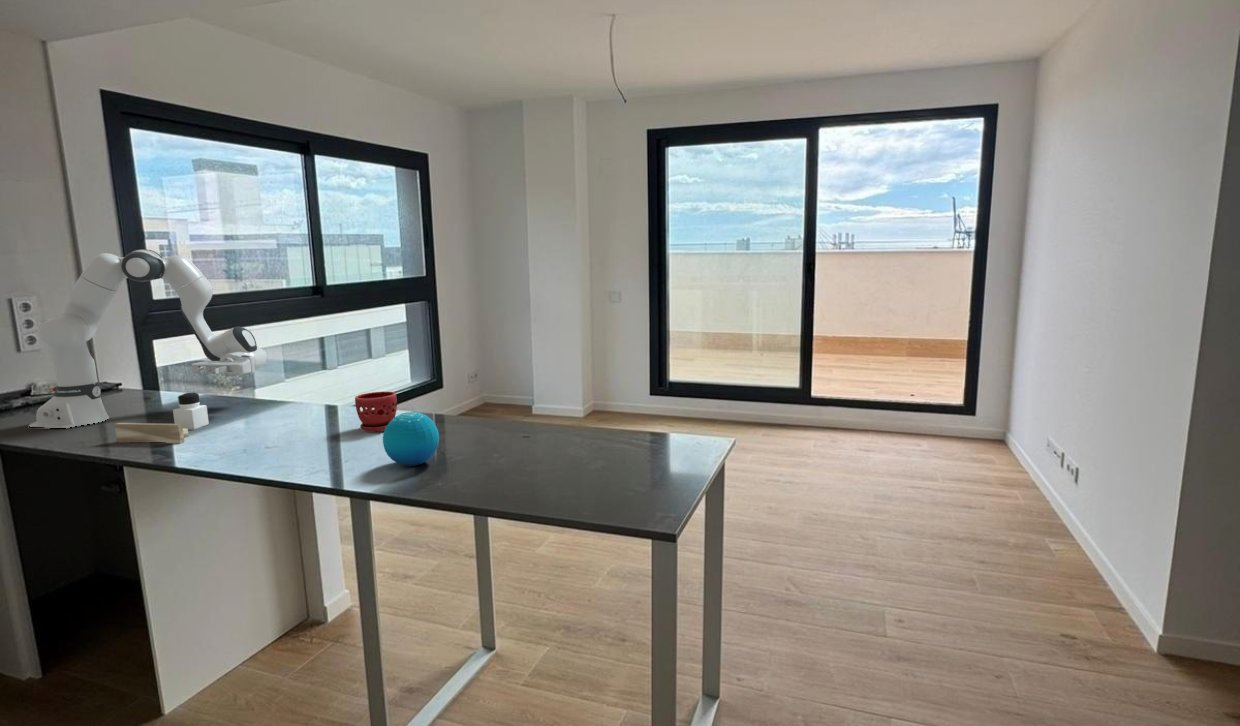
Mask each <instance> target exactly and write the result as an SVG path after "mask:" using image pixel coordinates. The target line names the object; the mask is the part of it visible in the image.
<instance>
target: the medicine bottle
mask: <svg viewBox="0 0 1240 726" xmlns="http://www.w3.org/2000/svg"><path fill="white" fill-rule="evenodd" d="M177 401H178V403H177V404H178V408H174V409H172V414H173V420H174V421H173V422H174V423H173V424H182V428H184V429H188V431H195V430H197V429H200V428H203V427H207V426H208V425H210V422H209V416H208V414H209V413H208V406H207V405H206V404H200V401H201V400H200V395H199V393H197V392H184V393H181V394H179V395H178V396H177Z"/></svg>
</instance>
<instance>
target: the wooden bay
mask: <svg viewBox="0 0 1240 726" xmlns="http://www.w3.org/2000/svg"><path fill="white" fill-rule="evenodd" d="M113 425H114V431H115V436H116V437H115V438H116V443H130V442H166V443H165V444H183V443H185V438H187V437H189V436H190V435H189V430H188V429H184V428H182V424H175V423H155V422H154V423H149V422H147V423H145V422H144V423H143V422H139V423H138V422H117V423H114V424H113Z"/></svg>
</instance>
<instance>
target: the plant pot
mask: <svg viewBox="0 0 1240 726" xmlns="http://www.w3.org/2000/svg"><path fill="white" fill-rule="evenodd" d="M397 398H398V397H397V393H396V392H395V391H373V392H367V393H362V394H358V395H356V396H354V405H355V410H356V412H357V417H358V419H359V421H360V422H361V424H360V425H359V426H360V429H361V430H362V431H365V432H368V433H369V432H370V433H377V432H384V430H385V428H386V426H387V425H388V423H389V422H390V421H391V420H392V419H393V418H395V417H396V416H397V410H398V401H397ZM361 409H362V410H361Z"/></svg>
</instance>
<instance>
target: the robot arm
mask: <svg viewBox="0 0 1240 726" xmlns="http://www.w3.org/2000/svg"><path fill="white" fill-rule="evenodd" d="M126 279H129V280H132V281H135V282H140V283H145V282H149V281H155V280H159V279H160V280H161V279H163V280H164V281H165V282H167V283H168V285H169V286H171V288H172V289H173V291H174V292H175V293H176V295H177V297H178V298H179V300H180V304H181V305H180V312H181V314H182V315H183V317H184V319H185V322H186V323H187V325H188V327H190V330H191V331H192V332H193V334H194V336H195V337H196V339H197V341H198V343H199V344H200V346H201V349H202V351H203V354H204V355H205V357H206V358H207V359H208V360H207V361H199V362H194V363H192V364H191V368H190V369H191V373H192V374H212V375H213V374H214V375H216V374H220V375H221V374H223V375H225V376H227V377H231V378H234V377H239V376H242V375H251V374H254V373H256V372H255V371H257V370H260V369H261V368H263V367H264V366H265V365H266V363H267V360H268V355H267V353H266V351H265V350H264V349H263V348H261V347H259V346H258V344H257V341H256V338H255V336H254V335H253V333H252V332H251V331H250V330H248V329H247V328H245V327H243V326H238V325H237V326H234V327H231V328H230V329H228V330H226V331H224V332H223V333H221V334H219V335H214V333H213V331H212V330H211V328H210V326H209V325H208V324H207V322H206V320H205V318H204V310H205V309H206V306H208V304H209V303H210V302H211V300H212V298H213V295H214V292H213V290H214V289H213V286H212V284H211V283H210V281H209V280H208V279H207V278H206V276H205V275H204V274H203V272H201V270H200V269H199V268H198V267H197V266H196V265H195V264H194V263H193V262H192V261H191V260H190V259H189V258H187V256H185V255H182V254H174V255H170V256H168V257H165V258H163V256H162V255H160V253H159V252H156V251H154V250H151V249H147V248H146V249H137V250H136V249H135V250H133V251H131V252H129V253H127V254H126V255H125V256H123V257H121V256H118V255H116V254H114V253H108V252H107V253H106V252H105V253H104V252H103V253H100V254H97V255H95V257H94V258H93V259H91V261H90V262H89V263H88V264H87V266H86V267H85V268H84V269H83V271H82V273H81V274H80V275H79V277H78V279H77V280H76V282H75V284H74V285H73V287H72V288H71V290H70V291H69V293H68V295H67V296H68V299H67V302H66V305H65V307H64V309H63V311H62V312H61V314H60V315H56V316H52V317H50V318H48V319H46V321H44V322H43V323H42V324H41V325H40V327H39V330H38V334H39V338H40V340H41V341H42V342H43V343H44V344H45V346H46V349H47V351H48V354H49V356H50V358H51V360H52V363H53V367H54V374H55V378H56V384H57V385H56V386H55V387H51V388H49V390H50V391H49V392H50V393H52V392H54V393H53V396H52V397H51V398H50V399H48V400H47V401H46V402H45V403H44V404H43V405H41V406H40V407H39V408H38V409H37V411H36V417H35V418H36V421H34V422H32V423H29V425H28V427H29V426H30V427H45V428H44V429H50V428H66V429H70V427H72V428H76V427H75V426H77V427H82V426H81V425H84V426H88V425H87V424H90V425H94V424H93V423H95V424H99V423H102V421H103V422H106V421H108V420H109V419H110V416H109V415H108V413H107V411H106V409H105V405H104V403H103V401H102V397H101V396H102V395H101V394H102V390H101V384H100V381H99V380H98V374H97V369H96V368H97V367H96V361H95V359H94V358H93V356H92V355H91V353H90V351H89V347H88V346H87V342H88V341H90V340H91V339H92V338H93V337H95V335H96V333H97V331H98V328H99V325H100V323H101V321H102V318H103V316H104V313H105V311H106V309H107V307H108V305H109V304H110V302H111V301H112V299H113V297H114V296H115V294H116V293H117V291H118V290H119V288H120V286H121V285H122V284H123V282H124V281H125V280H126ZM107 419H108V420H107ZM105 420H106V421H105ZM98 422H99V423H98Z"/></svg>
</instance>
